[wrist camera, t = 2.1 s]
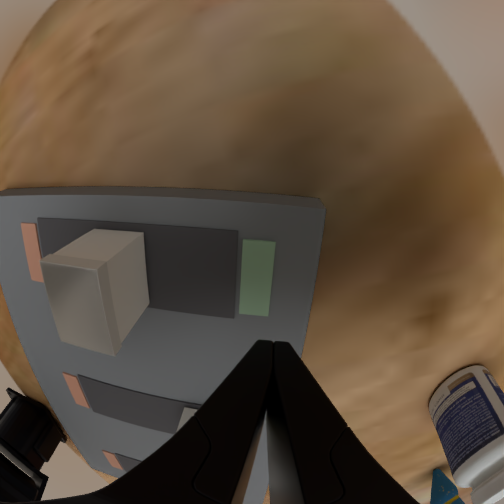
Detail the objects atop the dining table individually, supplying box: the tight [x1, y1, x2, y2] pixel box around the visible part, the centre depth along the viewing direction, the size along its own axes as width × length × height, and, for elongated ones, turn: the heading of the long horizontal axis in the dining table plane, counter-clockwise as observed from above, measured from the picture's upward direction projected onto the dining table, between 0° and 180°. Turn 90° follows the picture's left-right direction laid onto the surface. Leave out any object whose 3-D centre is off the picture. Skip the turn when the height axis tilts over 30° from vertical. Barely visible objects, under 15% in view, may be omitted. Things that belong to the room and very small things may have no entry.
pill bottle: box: [429, 365, 504, 504], centre depth 12 cm, size 5×5×10 cm
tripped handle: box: [39, 229, 150, 356], centre depth 10 cm, size 2×3×4 cm
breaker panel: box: [0, 186, 326, 504], centre depth 17 cm, size 18×28×2 cm, turn 176°
